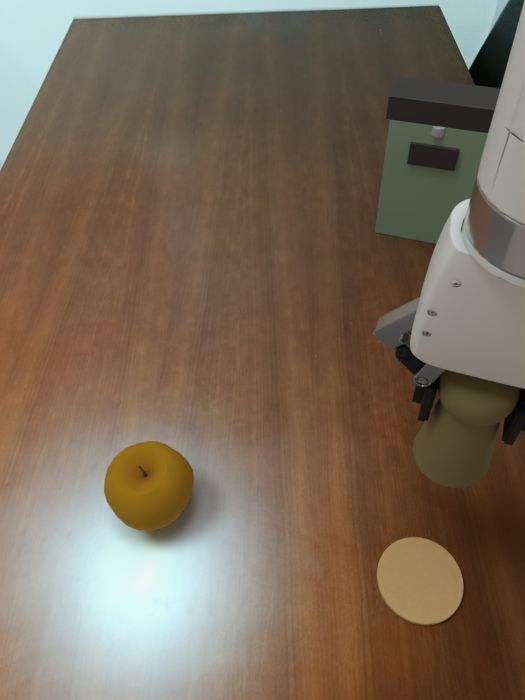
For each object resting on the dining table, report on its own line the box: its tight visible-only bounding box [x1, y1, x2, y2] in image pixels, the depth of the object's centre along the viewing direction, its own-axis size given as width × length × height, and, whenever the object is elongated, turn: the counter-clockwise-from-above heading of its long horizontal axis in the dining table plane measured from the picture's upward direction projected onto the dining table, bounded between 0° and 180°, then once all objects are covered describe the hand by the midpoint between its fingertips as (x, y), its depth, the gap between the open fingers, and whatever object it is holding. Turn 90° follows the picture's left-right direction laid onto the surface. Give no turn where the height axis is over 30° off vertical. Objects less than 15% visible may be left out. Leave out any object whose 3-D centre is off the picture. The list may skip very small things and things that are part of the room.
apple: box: [103, 440, 195, 532], centre depth 58 cm, size 9×8×9 cm
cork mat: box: [376, 536, 465, 627], centre depth 55 cm, size 8×8×1 cm
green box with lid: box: [374, 75, 501, 245], centre depth 77 cm, size 13×6×21 cm, turn 70°
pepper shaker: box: [411, 370, 520, 489], centre depth 42 cm, size 6×6×11 cm
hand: (466, 414), depth 42 cm, fingers closed on pepper shaker, 5 cm apart
